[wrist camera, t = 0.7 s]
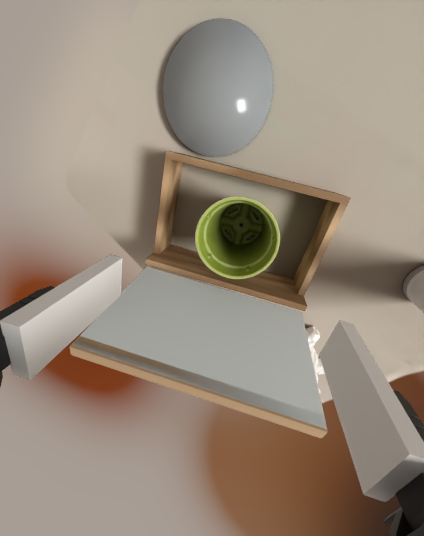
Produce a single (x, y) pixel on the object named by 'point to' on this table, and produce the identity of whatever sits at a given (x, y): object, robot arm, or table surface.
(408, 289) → the travel mug
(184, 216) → the table surface
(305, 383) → the lid
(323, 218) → the frame
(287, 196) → the table surface
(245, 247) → the plant pot
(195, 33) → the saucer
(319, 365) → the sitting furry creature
